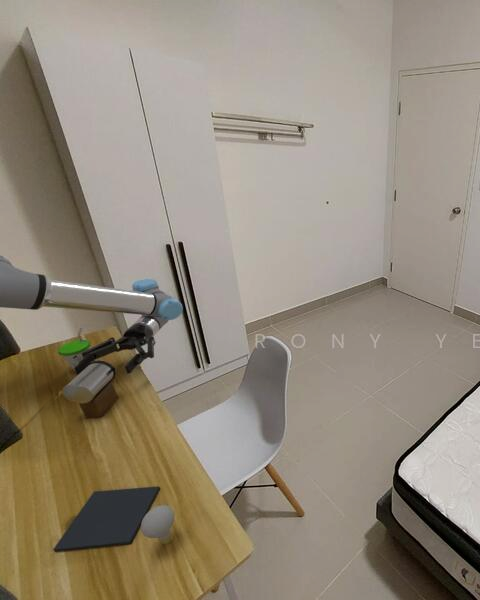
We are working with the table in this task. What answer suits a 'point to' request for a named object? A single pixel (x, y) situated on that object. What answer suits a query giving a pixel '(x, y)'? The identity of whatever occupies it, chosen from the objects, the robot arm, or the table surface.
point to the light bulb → (158, 523)
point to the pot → (89, 382)
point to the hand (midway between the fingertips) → (102, 370)
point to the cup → (74, 350)
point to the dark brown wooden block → (100, 402)
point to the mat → (108, 519)
